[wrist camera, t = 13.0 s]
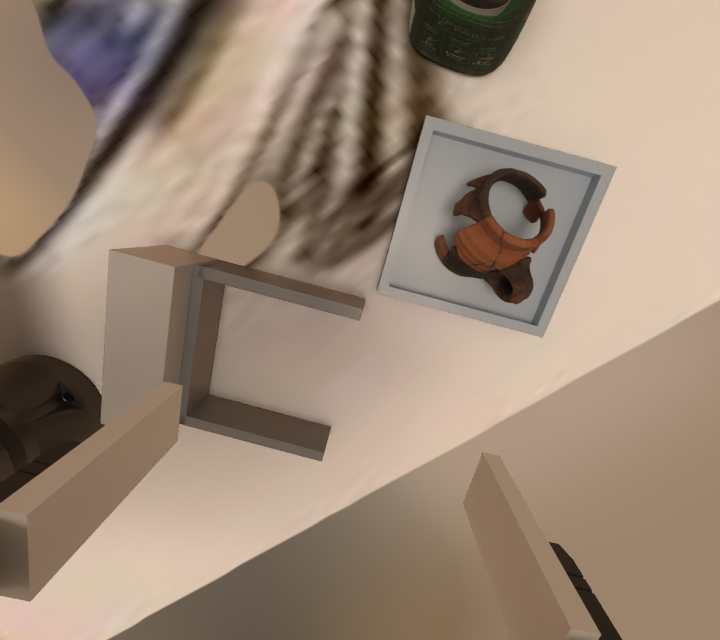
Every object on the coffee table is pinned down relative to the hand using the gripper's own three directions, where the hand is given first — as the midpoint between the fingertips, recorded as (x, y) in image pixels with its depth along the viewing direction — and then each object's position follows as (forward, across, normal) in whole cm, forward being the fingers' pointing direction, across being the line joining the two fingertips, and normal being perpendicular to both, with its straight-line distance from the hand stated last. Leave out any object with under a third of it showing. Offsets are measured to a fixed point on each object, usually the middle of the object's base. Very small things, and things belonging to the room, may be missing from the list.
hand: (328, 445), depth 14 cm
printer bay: (+25, -11, -7) cm, 28 cm away
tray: (+24, +11, +11) cm, 29 cm away
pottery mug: (+23, +11, +11) cm, 28 cm away
